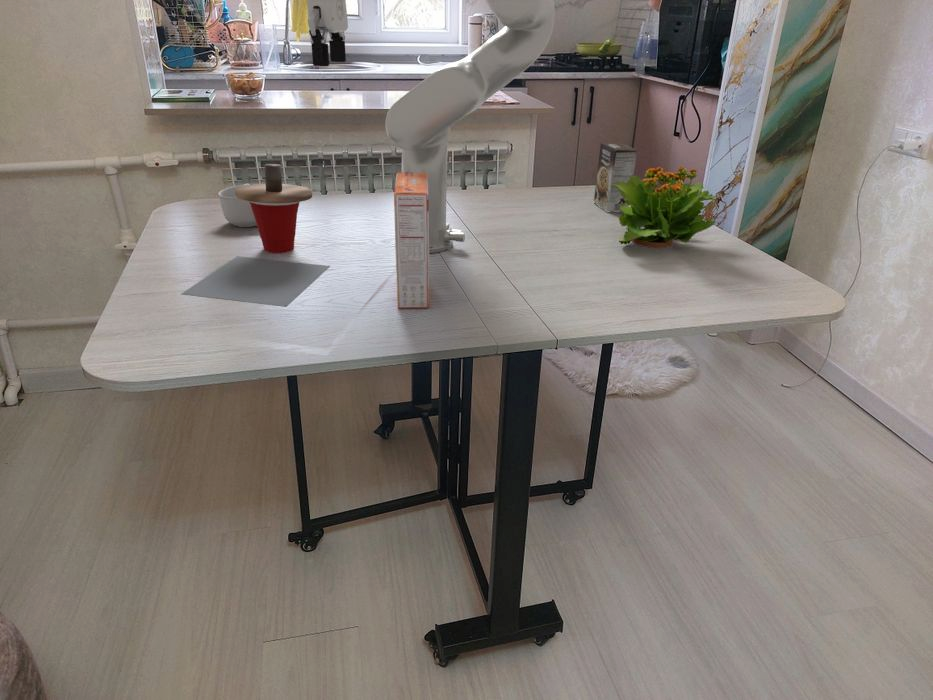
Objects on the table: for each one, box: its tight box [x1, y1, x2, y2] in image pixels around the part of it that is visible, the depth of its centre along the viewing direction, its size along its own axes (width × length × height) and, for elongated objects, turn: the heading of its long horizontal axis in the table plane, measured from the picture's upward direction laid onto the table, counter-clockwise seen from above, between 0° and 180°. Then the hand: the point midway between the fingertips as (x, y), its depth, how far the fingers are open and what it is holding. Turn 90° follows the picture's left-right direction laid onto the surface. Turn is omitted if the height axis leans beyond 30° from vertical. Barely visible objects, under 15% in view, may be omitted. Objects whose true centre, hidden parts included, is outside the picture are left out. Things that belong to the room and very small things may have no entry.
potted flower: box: [611, 166, 717, 249], centre depth 152 cm, size 25×24×18 cm
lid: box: [235, 163, 313, 203], centre depth 136 cm, size 15×15×6 cm
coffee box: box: [593, 142, 638, 212], centre depth 176 cm, size 9×6×16 cm
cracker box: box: [393, 171, 430, 309], centre depth 120 cm, size 14×6×21 cm, turn 3°
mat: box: [181, 255, 331, 307], centre depth 127 cm, size 20×20×1 cm
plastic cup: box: [249, 201, 300, 254], centre depth 140 cm, size 11×11×12 cm
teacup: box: [218, 183, 257, 228], centre depth 158 cm, size 14×11×8 cm
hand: (330, 63), depth 137 cm, fingers open, 9 cm apart
